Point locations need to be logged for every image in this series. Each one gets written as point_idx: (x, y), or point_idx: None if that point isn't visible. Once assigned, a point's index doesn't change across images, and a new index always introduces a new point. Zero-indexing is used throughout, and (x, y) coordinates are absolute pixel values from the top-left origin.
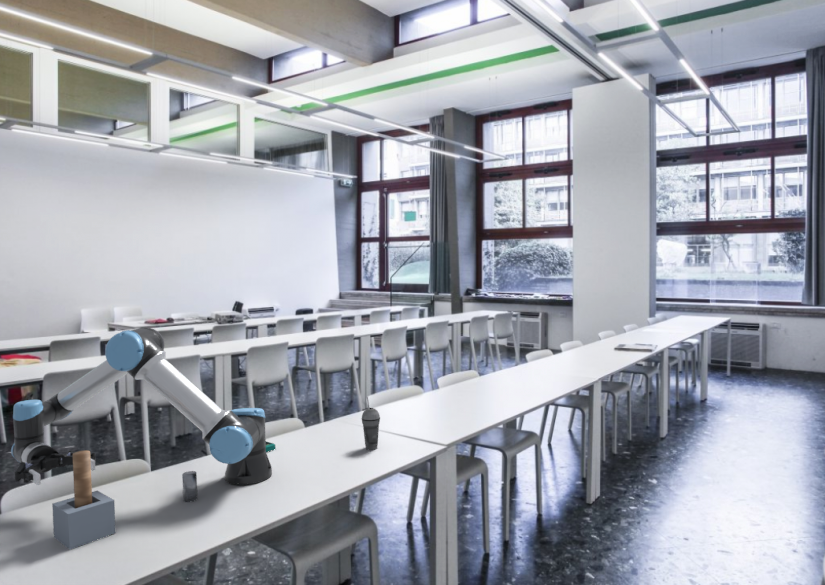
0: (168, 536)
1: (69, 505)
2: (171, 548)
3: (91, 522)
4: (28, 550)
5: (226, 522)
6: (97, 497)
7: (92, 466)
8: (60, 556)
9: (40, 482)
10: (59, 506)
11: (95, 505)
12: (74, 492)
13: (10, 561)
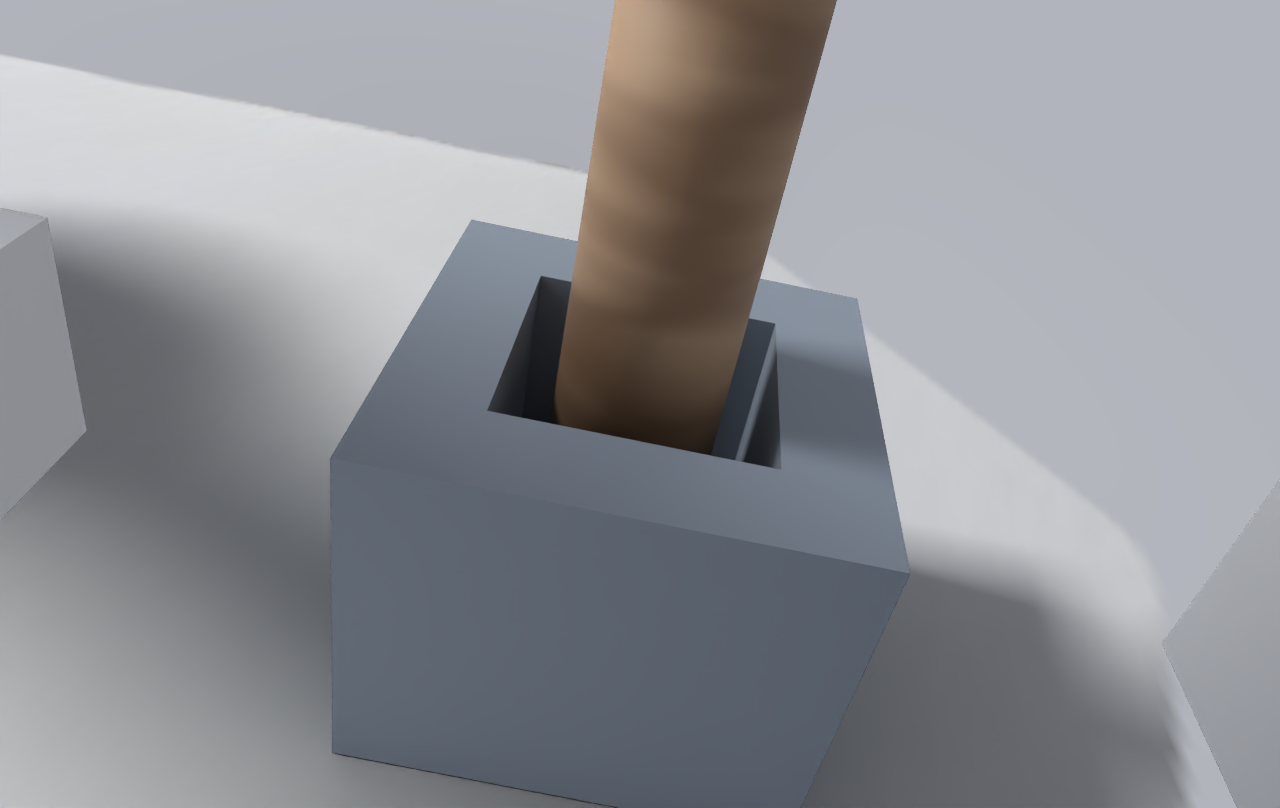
0: (351, 253)
1: (783, 396)
2: (453, 204)
3: None
4: (1022, 787)
5: (98, 151)
6: (499, 334)
7: (70, 346)
8: None
9: (1185, 616)
10: (867, 449)
11: None
12: (762, 267)
13: (1151, 729)
